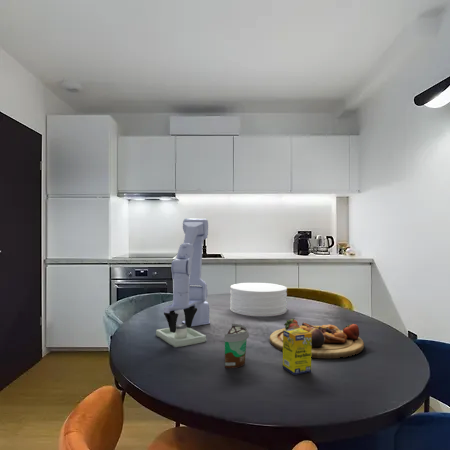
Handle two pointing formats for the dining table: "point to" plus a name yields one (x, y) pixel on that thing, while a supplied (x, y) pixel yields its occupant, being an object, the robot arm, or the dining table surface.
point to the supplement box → (297, 351)
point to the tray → (191, 338)
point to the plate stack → (258, 299)
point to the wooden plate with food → (325, 339)
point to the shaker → (181, 331)
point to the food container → (235, 346)
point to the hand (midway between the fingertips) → (180, 329)
